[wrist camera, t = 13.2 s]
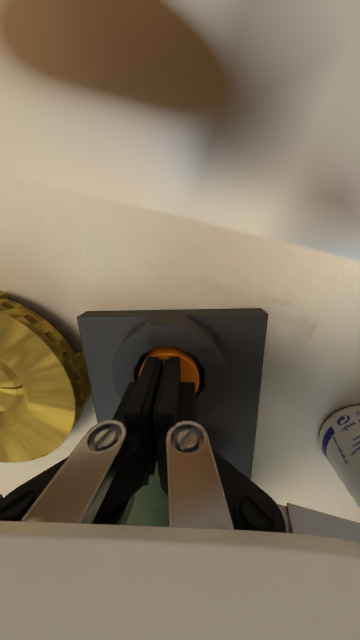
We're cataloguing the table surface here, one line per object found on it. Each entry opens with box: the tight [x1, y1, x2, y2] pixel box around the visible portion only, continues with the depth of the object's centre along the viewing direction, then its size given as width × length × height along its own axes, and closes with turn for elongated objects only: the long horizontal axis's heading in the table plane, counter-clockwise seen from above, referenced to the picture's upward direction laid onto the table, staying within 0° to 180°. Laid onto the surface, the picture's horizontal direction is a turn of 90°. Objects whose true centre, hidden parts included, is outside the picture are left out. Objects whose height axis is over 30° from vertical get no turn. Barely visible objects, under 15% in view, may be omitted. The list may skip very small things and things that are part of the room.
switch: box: [139, 347, 199, 394], centre depth 11 cm, size 3×3×2 cm
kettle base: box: [77, 308, 268, 480], centre depth 14 cm, size 11×16×3 cm
